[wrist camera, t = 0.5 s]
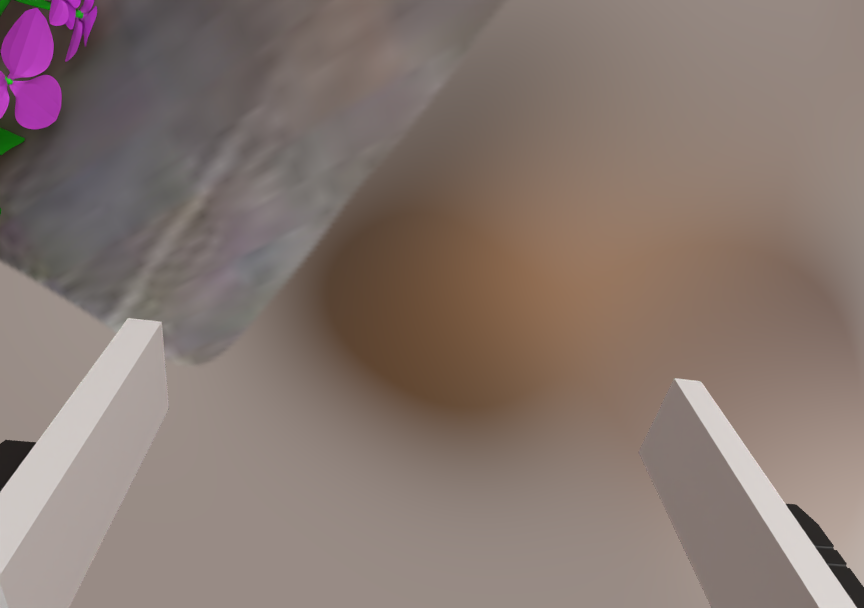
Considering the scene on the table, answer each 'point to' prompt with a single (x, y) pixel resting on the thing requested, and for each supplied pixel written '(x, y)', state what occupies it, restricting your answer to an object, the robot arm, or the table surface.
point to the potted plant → (38, 62)
